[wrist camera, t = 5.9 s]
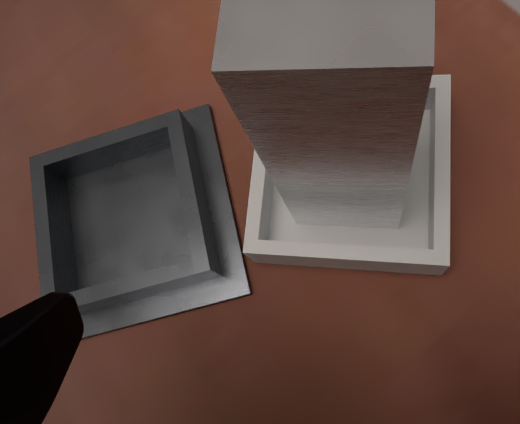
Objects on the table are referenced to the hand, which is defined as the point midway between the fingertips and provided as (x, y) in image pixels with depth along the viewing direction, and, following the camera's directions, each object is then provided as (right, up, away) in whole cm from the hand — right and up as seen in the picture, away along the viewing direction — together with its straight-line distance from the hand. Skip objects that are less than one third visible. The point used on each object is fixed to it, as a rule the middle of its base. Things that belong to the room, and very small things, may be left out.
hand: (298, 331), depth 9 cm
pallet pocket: (-7, +2, +16) cm, 18 cm away
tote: (+3, +4, +14) cm, 15 cm away
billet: (+3, +4, +14) cm, 15 cm away
